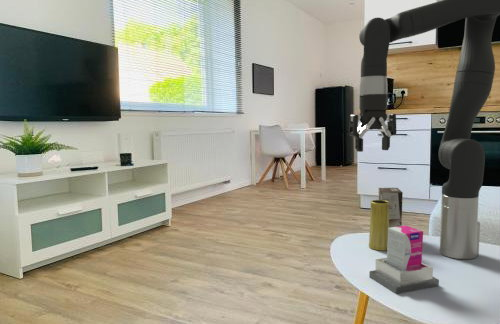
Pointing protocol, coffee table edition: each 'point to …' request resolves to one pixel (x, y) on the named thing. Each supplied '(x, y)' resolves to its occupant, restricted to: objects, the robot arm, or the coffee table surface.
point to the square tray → (403, 277)
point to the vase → (379, 225)
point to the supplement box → (404, 248)
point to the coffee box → (392, 204)
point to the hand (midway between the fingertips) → (372, 150)
